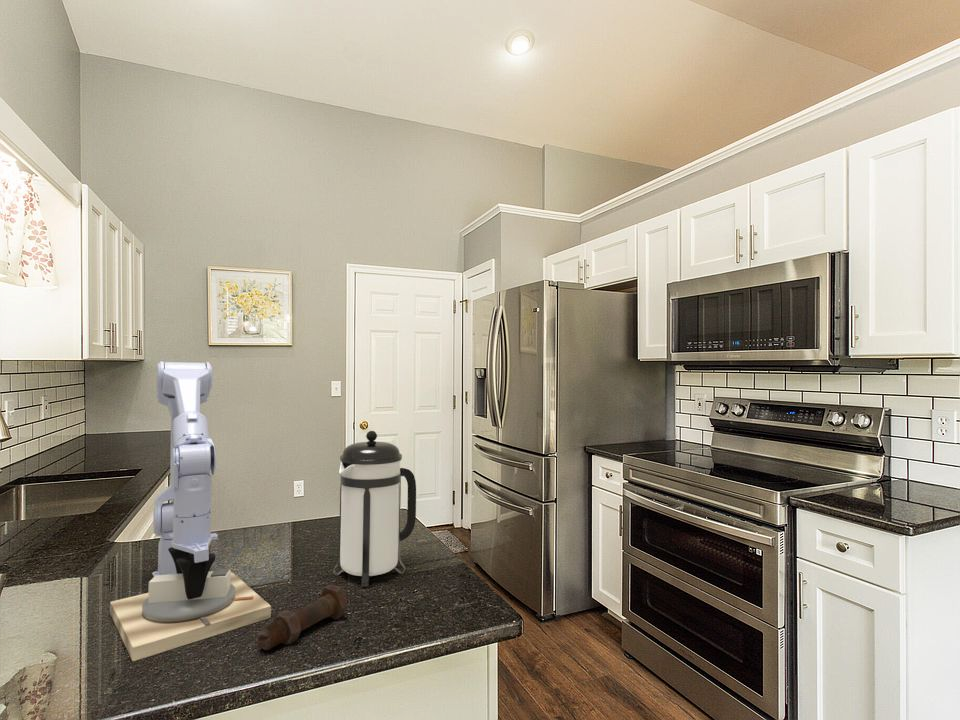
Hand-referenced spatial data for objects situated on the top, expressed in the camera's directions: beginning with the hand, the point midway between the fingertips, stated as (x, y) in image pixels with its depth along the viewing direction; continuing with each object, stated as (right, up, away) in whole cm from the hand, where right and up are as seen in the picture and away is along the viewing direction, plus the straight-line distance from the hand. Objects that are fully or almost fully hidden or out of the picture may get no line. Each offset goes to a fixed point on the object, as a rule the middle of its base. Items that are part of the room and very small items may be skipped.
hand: (190, 592), depth 89 cm
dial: (0, -2, 0) cm, 2 cm away
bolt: (+21, -5, -5) cm, 22 cm away
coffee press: (+27, -5, +20) cm, 34 cm away
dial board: (0, -4, 0) cm, 4 cm away
